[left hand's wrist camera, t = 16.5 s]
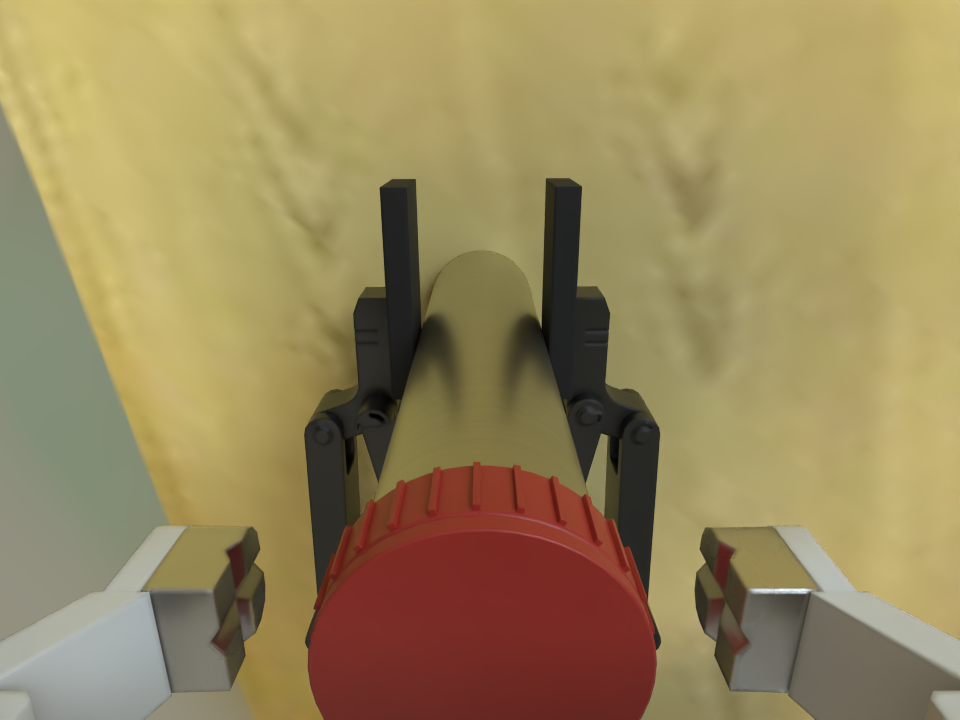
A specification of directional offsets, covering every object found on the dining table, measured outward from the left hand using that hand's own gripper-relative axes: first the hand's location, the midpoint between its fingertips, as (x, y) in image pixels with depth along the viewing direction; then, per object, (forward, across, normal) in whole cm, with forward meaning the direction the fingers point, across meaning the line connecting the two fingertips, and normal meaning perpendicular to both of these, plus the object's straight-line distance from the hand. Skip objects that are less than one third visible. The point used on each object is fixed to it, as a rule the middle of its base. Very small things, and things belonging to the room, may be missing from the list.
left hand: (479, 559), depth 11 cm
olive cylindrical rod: (+18, 0, 0) cm, 18 cm away
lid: (-2, 0, 0) cm, 2 cm away
